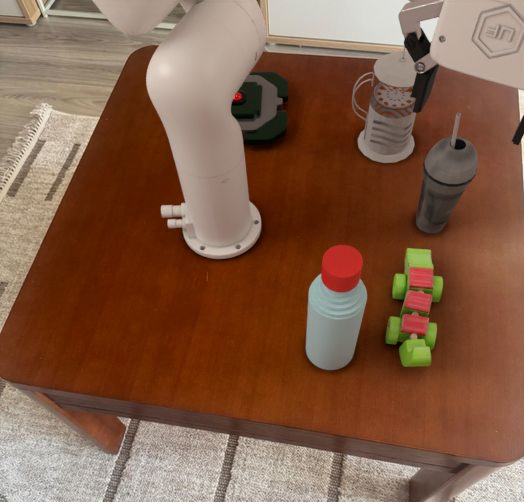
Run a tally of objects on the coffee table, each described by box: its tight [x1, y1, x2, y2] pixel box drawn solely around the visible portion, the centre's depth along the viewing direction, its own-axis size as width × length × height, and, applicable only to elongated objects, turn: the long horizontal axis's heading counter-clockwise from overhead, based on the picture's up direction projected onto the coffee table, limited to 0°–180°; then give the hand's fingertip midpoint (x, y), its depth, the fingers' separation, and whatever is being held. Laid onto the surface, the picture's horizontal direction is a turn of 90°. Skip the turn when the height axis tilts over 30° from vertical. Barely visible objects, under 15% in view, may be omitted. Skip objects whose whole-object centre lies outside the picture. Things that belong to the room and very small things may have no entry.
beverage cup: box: [415, 112, 479, 234], centre depth 74 cm, size 7×7×20 cm
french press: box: [351, 0, 417, 164], centre depth 80 cm, size 10×12×25 cm
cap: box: [320, 244, 364, 293], centre depth 57 cm, size 4×4×3 cm
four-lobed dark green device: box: [231, 70, 289, 146], centre depth 94 cm, size 18×18×5 cm
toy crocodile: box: [385, 247, 444, 368], centre depth 73 cm, size 20×7×6 cm, turn 167°
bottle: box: [305, 273, 368, 371], centre depth 65 cm, size 7×7×20 cm
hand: (468, 119), depth 51 cm, fingers open, 9 cm apart
